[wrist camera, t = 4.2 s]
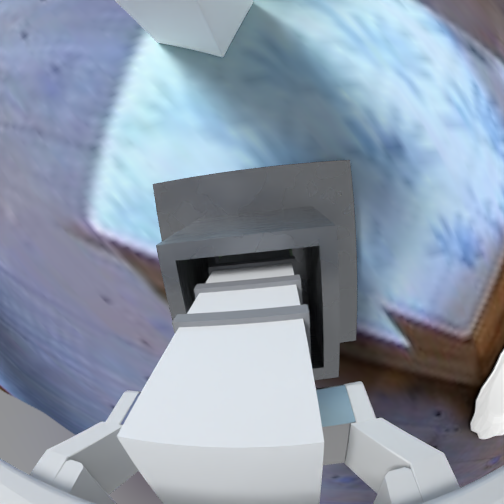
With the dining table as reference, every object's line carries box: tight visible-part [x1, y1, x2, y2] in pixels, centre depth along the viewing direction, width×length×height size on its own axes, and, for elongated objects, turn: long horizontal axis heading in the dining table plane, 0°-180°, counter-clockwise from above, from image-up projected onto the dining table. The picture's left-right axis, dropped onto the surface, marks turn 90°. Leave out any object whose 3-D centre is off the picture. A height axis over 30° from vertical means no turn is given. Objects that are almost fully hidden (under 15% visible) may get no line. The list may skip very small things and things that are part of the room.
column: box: [117, 249, 324, 504], centre depth 13 cm, size 4×4×16 cm
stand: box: [153, 160, 357, 380], centre depth 18 cm, size 14×14×10 cm
